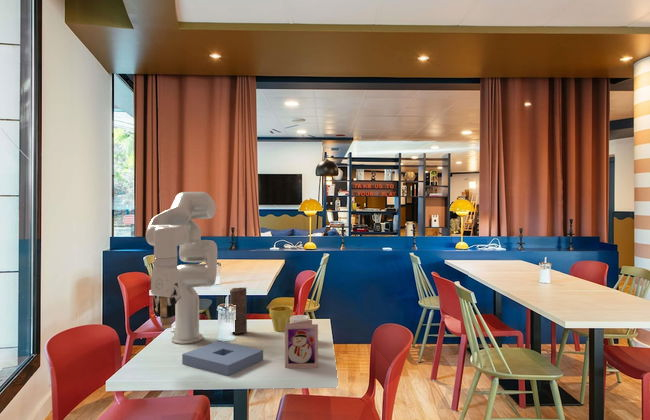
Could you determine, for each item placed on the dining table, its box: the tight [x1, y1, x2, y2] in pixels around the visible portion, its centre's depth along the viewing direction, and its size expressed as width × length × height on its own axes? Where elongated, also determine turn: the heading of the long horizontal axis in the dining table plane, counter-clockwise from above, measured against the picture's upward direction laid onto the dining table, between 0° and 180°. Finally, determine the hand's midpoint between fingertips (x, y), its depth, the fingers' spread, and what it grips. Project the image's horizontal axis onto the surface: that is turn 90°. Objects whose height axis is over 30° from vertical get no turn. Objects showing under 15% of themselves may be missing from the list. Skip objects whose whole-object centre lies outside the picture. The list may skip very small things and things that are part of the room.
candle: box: [229, 287, 248, 334], centre depth 196 cm, size 8×7×20 cm
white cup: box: [290, 314, 310, 324], centre depth 184 cm, size 8×8×10 cm
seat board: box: [181, 340, 264, 377], centre depth 160 cm, size 22×18×4 cm
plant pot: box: [269, 305, 294, 333], centre depth 201 cm, size 10×10×10 cm
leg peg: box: [159, 296, 174, 330], centre depth 153 cm, size 4×4×12 cm
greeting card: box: [284, 319, 319, 369], centre depth 156 cm, size 11×7×15 cm, turn 91°
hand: (166, 314), depth 153 cm, fingers closed on leg peg, 4 cm apart
